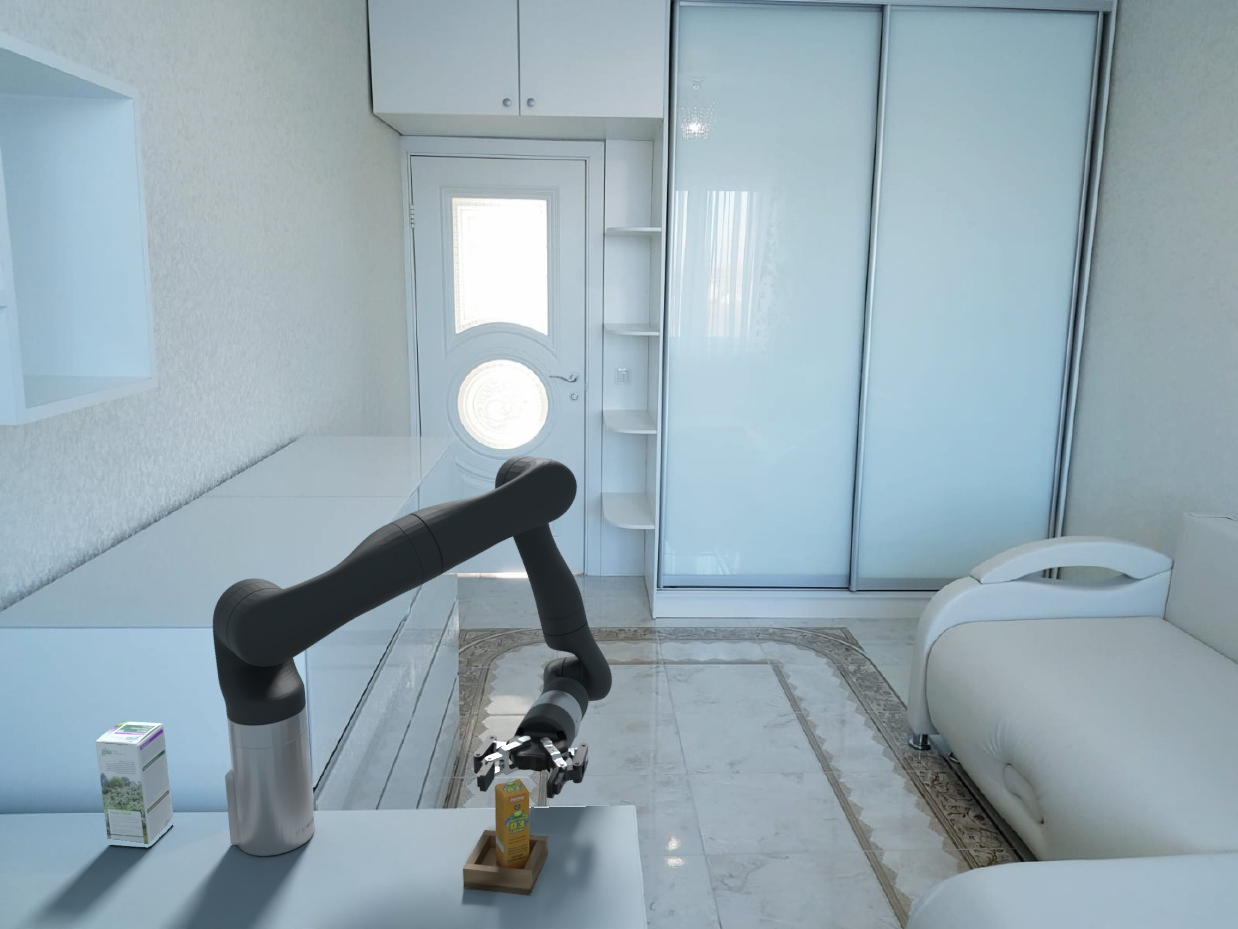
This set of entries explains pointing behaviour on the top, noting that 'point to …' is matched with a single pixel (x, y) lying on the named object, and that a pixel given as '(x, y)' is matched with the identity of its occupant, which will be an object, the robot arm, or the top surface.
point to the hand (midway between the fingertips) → (515, 788)
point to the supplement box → (512, 824)
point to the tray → (492, 877)
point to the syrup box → (134, 781)
